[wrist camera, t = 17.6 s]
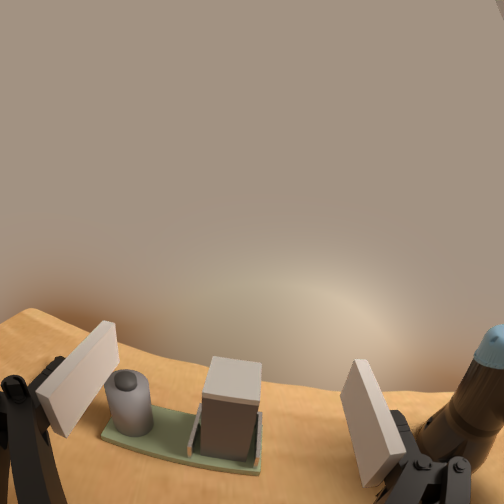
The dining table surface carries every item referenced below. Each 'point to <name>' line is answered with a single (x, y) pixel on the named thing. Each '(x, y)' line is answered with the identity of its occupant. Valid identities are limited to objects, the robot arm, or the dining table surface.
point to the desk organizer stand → (159, 427)
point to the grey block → (229, 408)
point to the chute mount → (197, 426)
